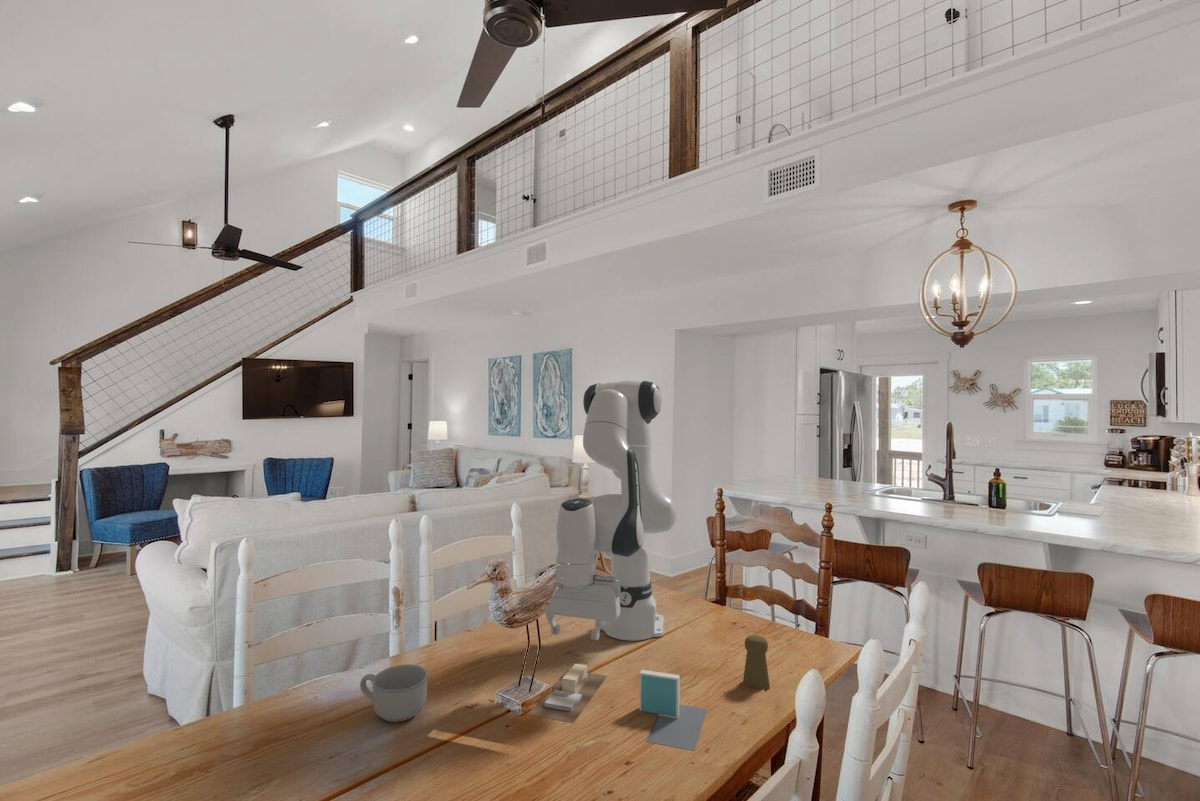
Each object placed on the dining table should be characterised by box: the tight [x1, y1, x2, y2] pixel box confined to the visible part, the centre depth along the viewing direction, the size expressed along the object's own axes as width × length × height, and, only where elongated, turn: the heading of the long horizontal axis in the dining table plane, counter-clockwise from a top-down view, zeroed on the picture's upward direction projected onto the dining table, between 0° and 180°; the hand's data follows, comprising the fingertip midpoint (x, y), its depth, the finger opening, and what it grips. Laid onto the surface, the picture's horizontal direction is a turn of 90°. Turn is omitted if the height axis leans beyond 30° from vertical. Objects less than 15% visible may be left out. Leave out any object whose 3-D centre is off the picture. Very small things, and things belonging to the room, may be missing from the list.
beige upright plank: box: [545, 663, 589, 711], centre depth 127 cm, size 14×6×4 cm, turn 162°
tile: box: [639, 669, 681, 719], centre depth 120 cm, size 2×8×8 cm, turn 72°
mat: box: [645, 704, 708, 752], centre depth 117 cm, size 16×18×1 cm
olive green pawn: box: [742, 634, 771, 692], centre depth 134 cm, size 6×6×11 cm
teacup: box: [359, 664, 429, 723], centre depth 120 cm, size 14×11×8 cm
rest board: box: [527, 669, 608, 724], centre depth 127 cm, size 22×10×1 cm, turn 162°
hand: (575, 636), depth 130 cm, fingers open, 8 cm apart
